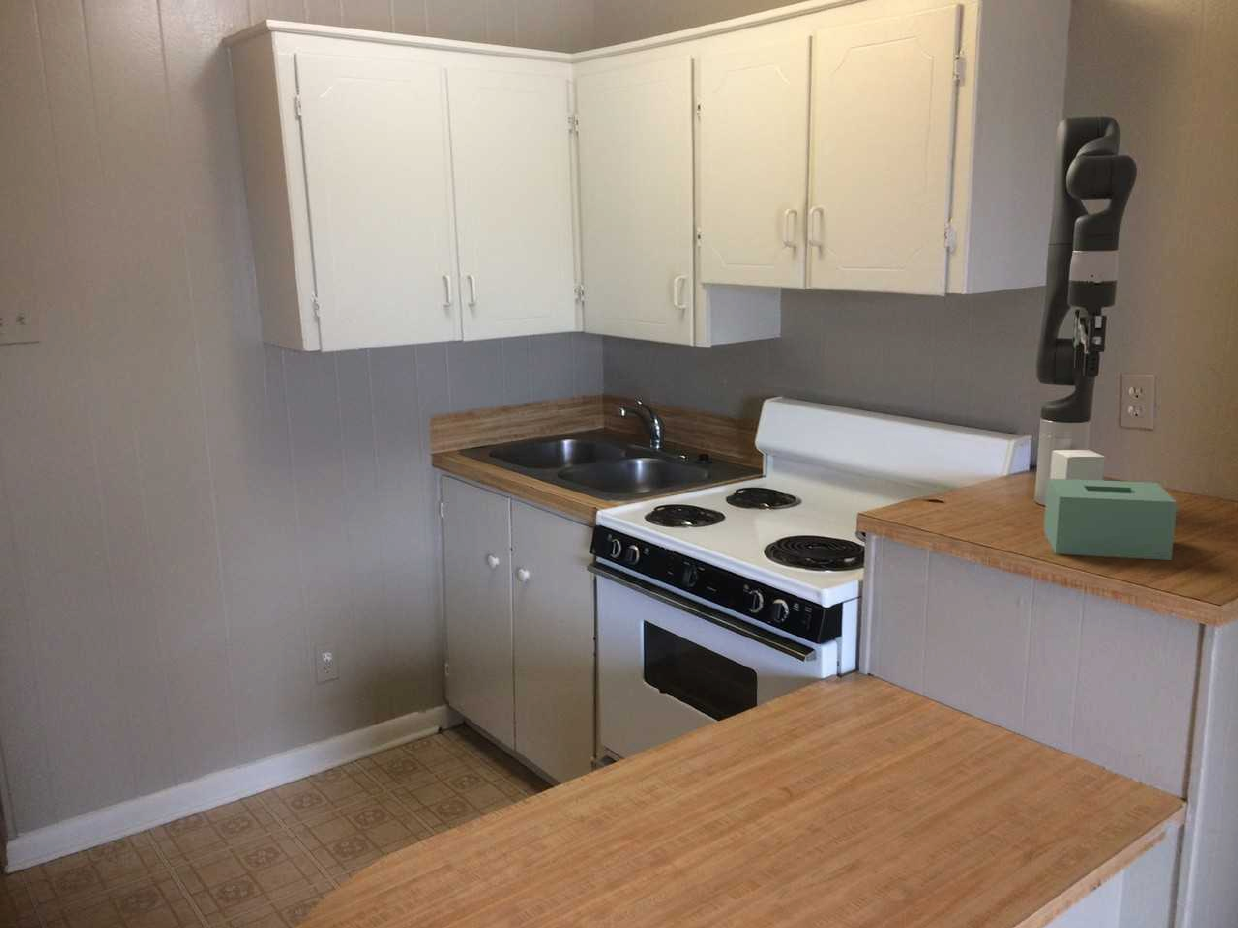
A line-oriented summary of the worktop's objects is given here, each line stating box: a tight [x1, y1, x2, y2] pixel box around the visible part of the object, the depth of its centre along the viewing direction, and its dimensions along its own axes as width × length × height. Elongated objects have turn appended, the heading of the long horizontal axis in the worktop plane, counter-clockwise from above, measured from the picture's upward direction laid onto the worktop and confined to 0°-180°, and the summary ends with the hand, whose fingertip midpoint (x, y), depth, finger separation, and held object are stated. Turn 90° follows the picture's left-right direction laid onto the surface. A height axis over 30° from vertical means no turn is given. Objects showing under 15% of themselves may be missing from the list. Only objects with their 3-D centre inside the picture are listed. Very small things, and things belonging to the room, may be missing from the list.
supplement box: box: [1050, 449, 1106, 481], centre depth 197 cm, size 7×7×13 cm
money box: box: [1043, 479, 1178, 561], centre depth 179 cm, size 14×18×10 cm
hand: (1085, 372), depth 179 cm, fingers open, 8 cm apart
